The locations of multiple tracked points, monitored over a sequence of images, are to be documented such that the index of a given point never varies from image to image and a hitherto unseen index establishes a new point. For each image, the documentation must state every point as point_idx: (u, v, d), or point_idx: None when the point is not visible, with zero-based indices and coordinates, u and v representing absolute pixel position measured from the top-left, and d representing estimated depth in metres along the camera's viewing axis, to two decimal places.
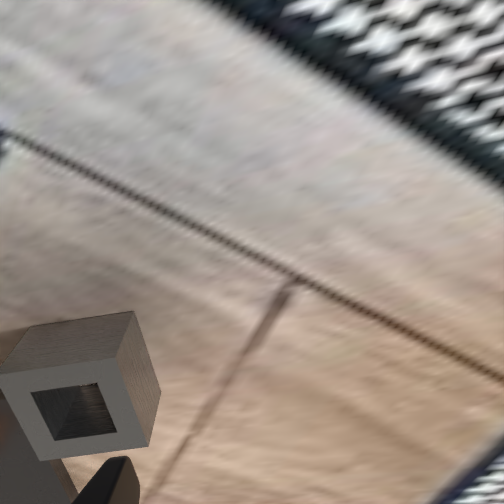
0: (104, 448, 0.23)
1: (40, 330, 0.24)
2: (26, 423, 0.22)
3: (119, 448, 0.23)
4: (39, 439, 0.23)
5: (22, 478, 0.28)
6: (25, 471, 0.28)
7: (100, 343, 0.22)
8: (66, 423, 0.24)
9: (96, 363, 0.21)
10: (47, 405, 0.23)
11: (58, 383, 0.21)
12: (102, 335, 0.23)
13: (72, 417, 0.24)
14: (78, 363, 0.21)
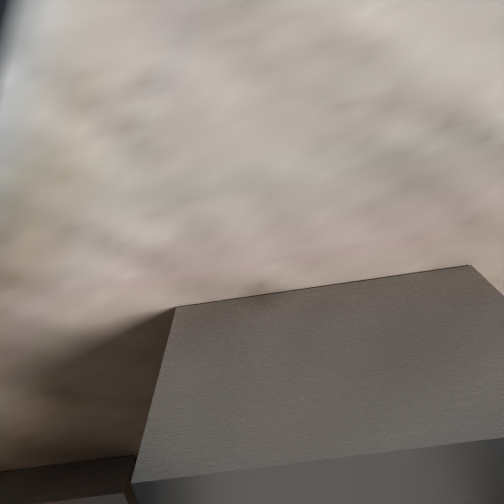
0: None
1: (216, 317, 0.08)
2: None
3: None
4: None
5: None
6: None
7: (479, 358, 0.06)
8: None
9: None
10: None
11: None
12: (442, 331, 0.07)
13: None
14: (476, 442, 0.05)
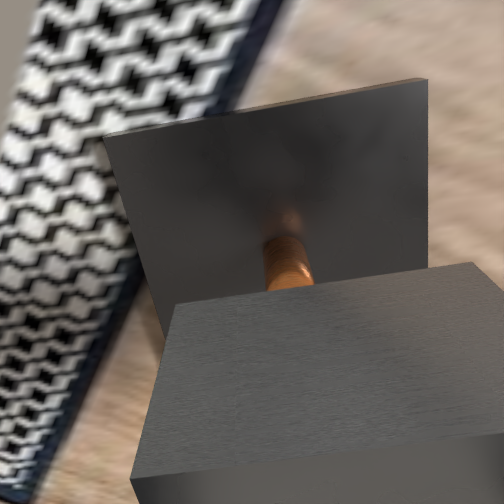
0: None
1: (215, 313, 0.08)
2: None
3: None
4: None
5: (374, 254, 0.18)
6: (384, 240, 0.18)
7: (480, 354, 0.06)
8: None
9: None
10: None
11: None
12: (443, 327, 0.07)
13: None
14: (478, 437, 0.05)
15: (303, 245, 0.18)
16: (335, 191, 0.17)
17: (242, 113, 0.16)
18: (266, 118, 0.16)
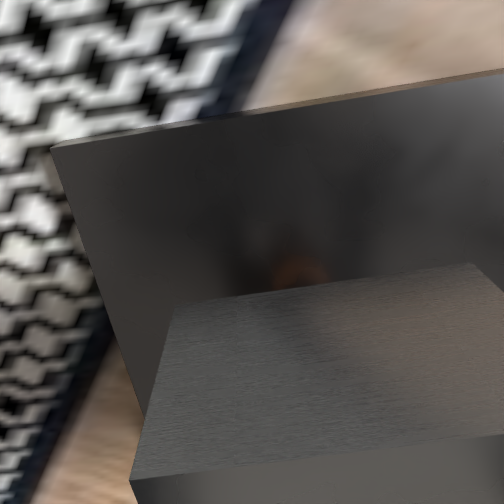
0: None
1: (215, 314, 0.08)
2: None
3: None
4: None
5: None
6: None
7: (480, 355, 0.06)
8: None
9: None
10: None
11: None
12: (443, 328, 0.07)
13: None
14: (477, 439, 0.05)
15: None
16: (382, 227, 0.12)
17: (254, 115, 0.11)
18: (289, 123, 0.11)
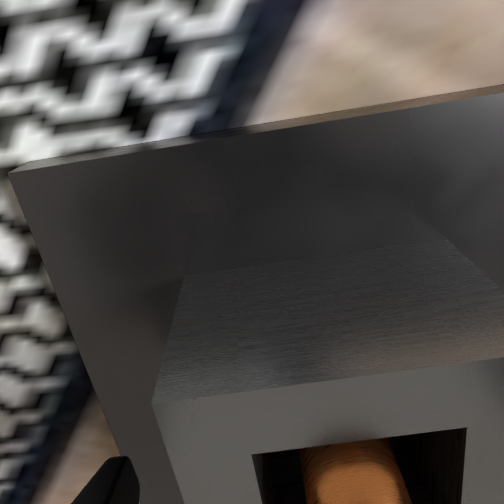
0: None
1: (219, 282, 0.10)
2: None
3: None
4: None
5: None
6: None
7: (445, 308, 0.07)
8: None
9: (493, 367, 0.06)
10: (263, 481, 0.08)
11: (346, 428, 0.07)
12: (417, 289, 0.08)
13: (291, 501, 0.10)
14: (436, 367, 0.06)
15: None
16: None
17: (261, 133, 0.09)
18: (304, 142, 0.09)
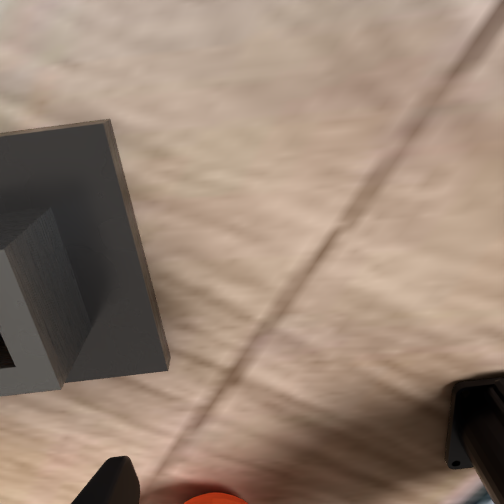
0: None
1: None
2: None
3: (20, 391, 0.17)
4: None
5: (93, 282, 0.19)
6: (99, 269, 0.19)
7: None
8: None
9: None
10: None
11: None
12: None
13: None
14: None
15: None
16: None
17: None
18: None
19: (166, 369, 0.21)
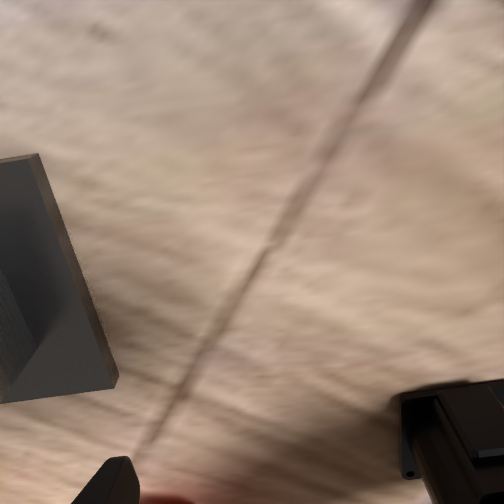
0: None
1: None
2: None
3: None
4: None
5: (34, 306, 0.20)
6: (38, 294, 0.20)
7: None
8: None
9: None
10: None
11: None
12: None
13: None
14: None
15: None
16: None
17: None
18: None
19: (112, 387, 0.22)
